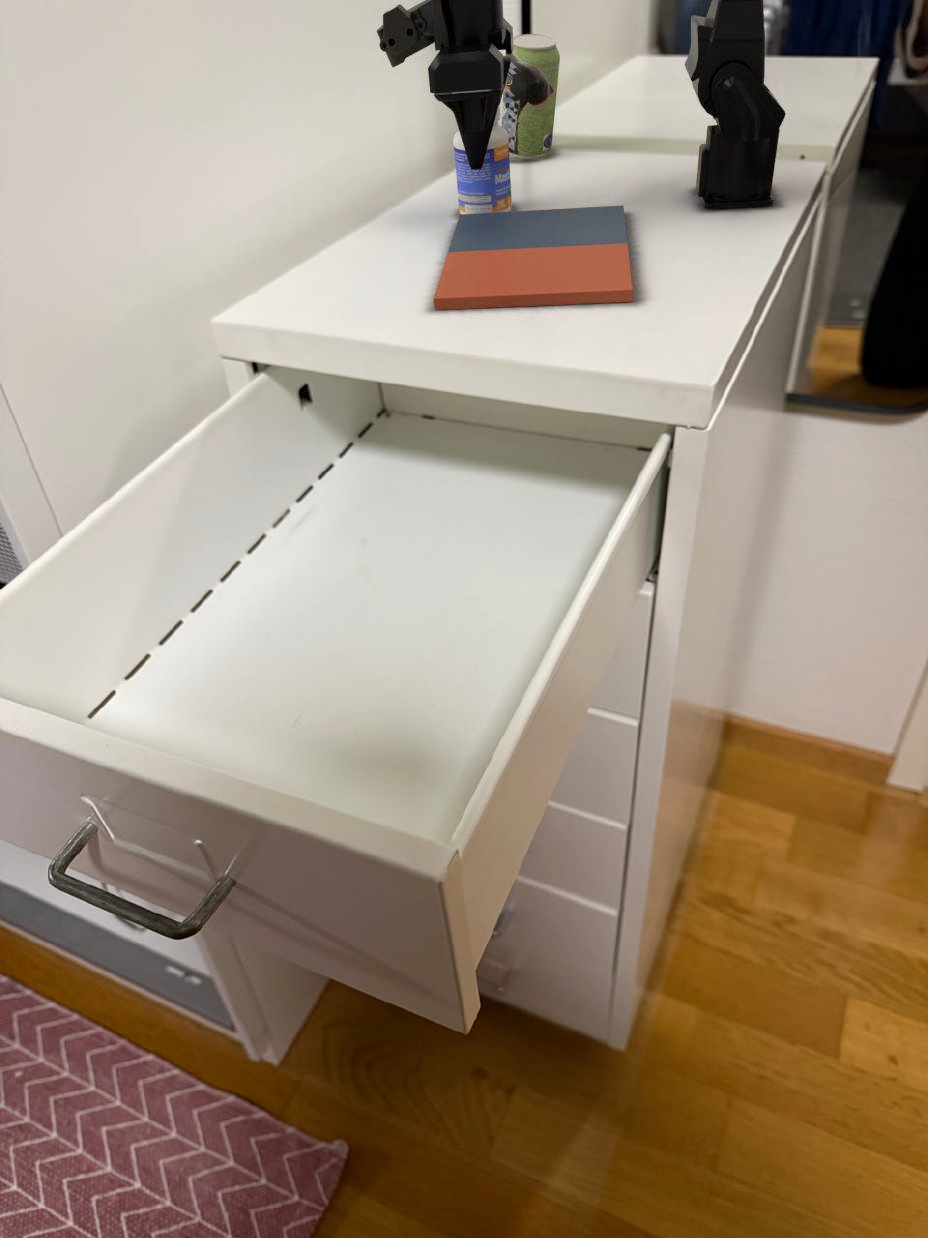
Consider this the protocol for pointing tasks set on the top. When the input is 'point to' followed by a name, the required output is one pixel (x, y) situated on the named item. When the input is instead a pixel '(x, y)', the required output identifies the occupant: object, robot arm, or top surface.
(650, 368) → the top surface
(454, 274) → the board
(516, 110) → the beverage can
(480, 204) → the pill bottle
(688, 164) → the top surface
